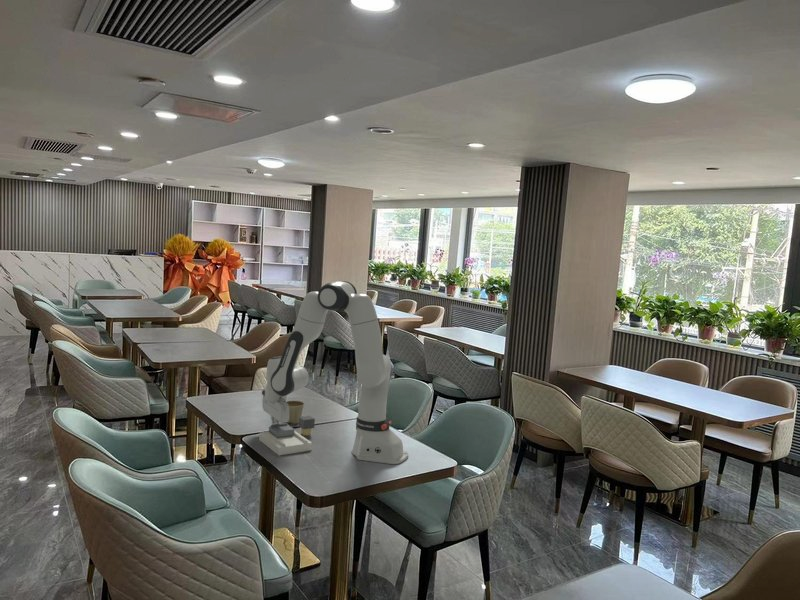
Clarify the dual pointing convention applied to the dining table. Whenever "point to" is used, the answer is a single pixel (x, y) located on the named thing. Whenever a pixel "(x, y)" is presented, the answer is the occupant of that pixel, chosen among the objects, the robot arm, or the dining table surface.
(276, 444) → the socket plate
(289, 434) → the cover
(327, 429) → the dining table surface
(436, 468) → the dining table surface
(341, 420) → the dining table surface
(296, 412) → the flower pot
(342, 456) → the dining table surface
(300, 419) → the plug
